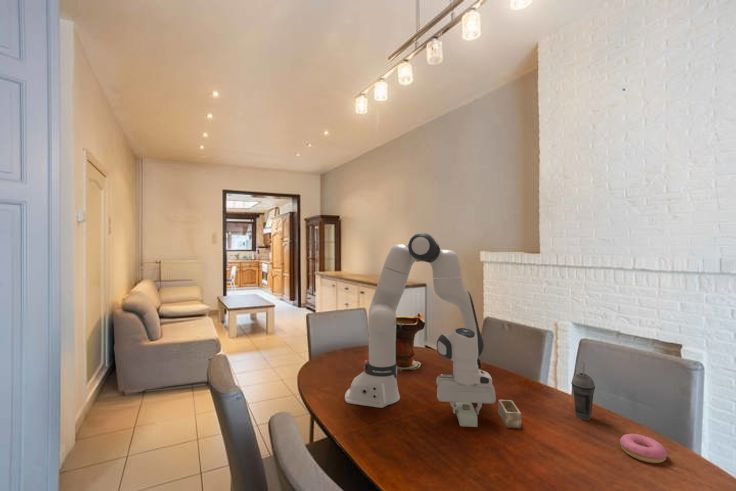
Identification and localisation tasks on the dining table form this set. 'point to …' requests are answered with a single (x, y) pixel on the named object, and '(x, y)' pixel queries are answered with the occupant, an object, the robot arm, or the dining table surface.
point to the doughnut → (643, 448)
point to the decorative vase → (407, 340)
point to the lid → (466, 414)
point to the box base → (509, 413)
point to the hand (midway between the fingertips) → (465, 413)
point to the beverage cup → (583, 395)
